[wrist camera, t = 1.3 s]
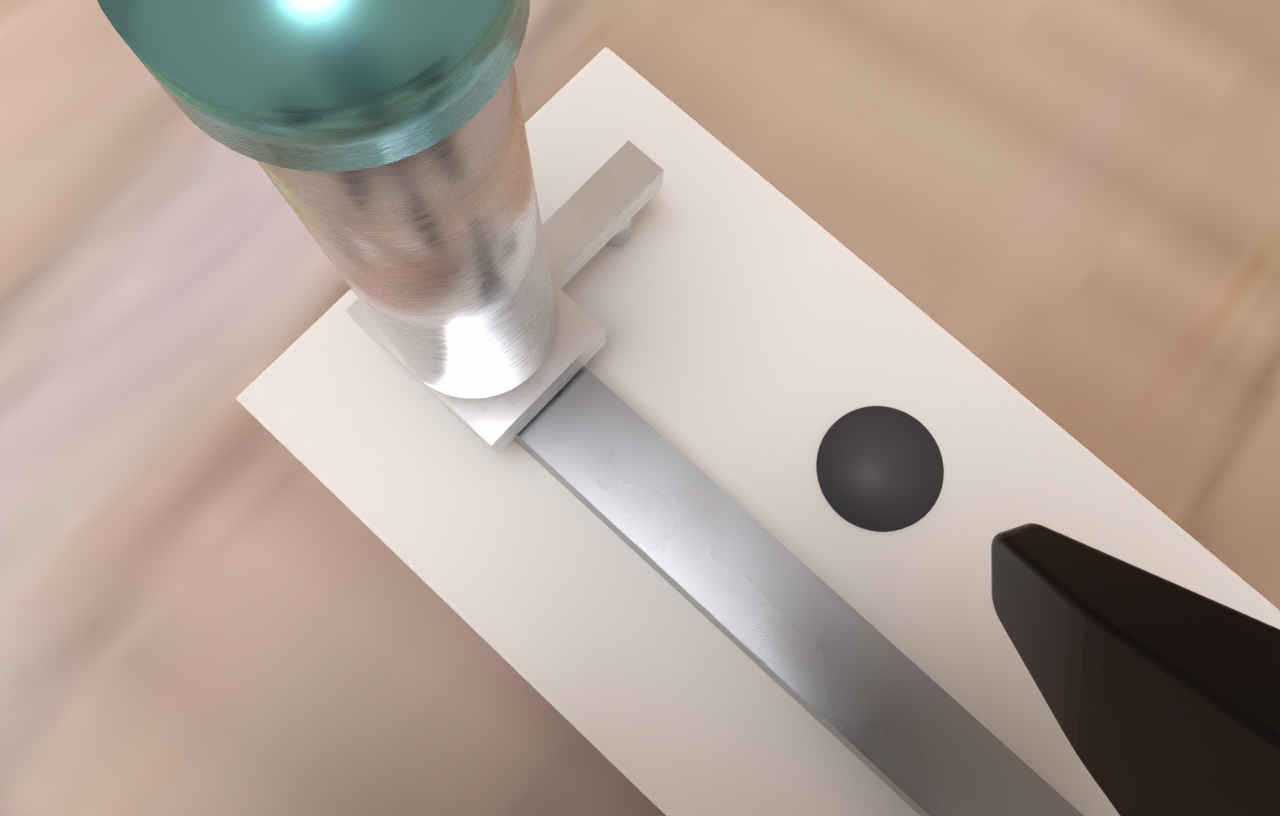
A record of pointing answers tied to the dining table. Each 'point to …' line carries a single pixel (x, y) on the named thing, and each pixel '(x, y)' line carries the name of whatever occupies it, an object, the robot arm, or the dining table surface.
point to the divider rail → (780, 611)
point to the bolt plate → (730, 480)
